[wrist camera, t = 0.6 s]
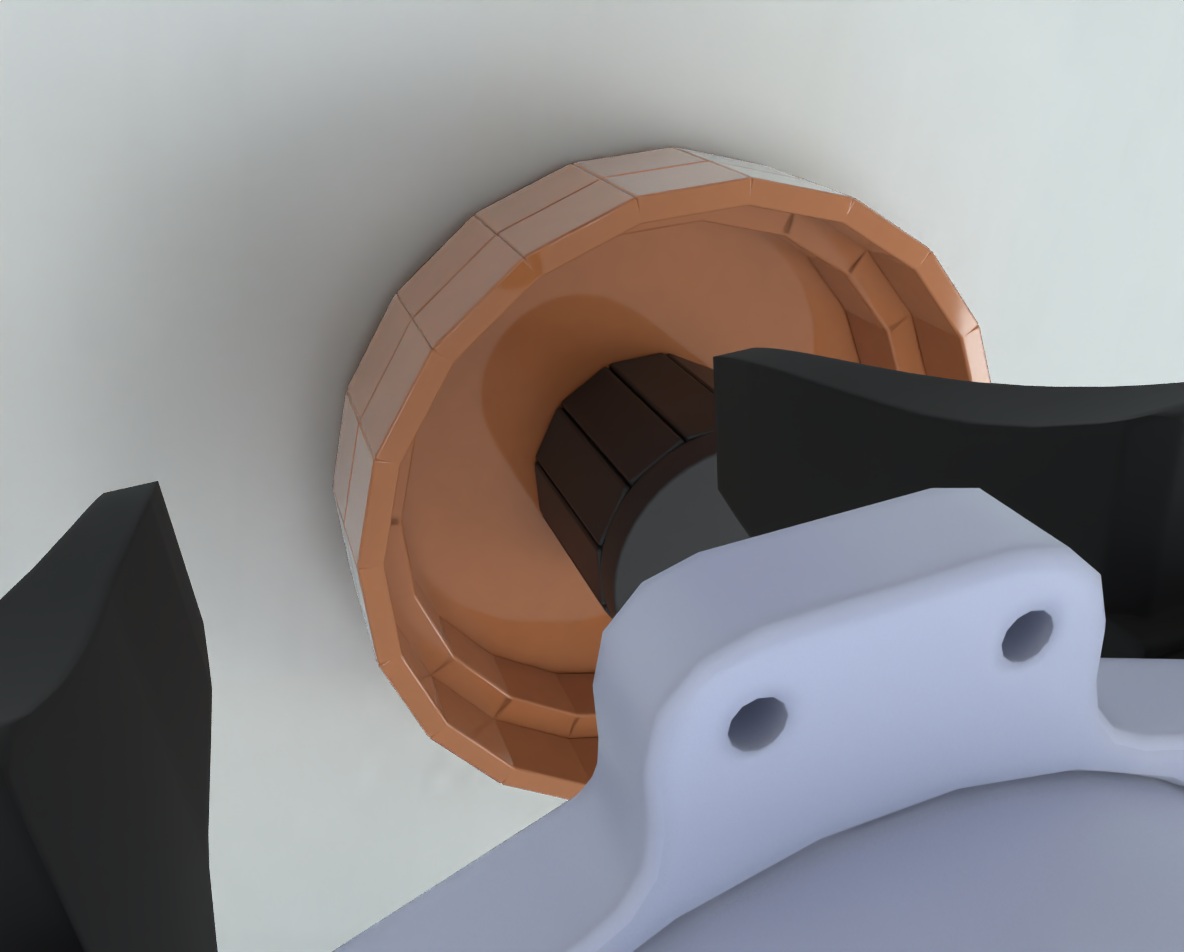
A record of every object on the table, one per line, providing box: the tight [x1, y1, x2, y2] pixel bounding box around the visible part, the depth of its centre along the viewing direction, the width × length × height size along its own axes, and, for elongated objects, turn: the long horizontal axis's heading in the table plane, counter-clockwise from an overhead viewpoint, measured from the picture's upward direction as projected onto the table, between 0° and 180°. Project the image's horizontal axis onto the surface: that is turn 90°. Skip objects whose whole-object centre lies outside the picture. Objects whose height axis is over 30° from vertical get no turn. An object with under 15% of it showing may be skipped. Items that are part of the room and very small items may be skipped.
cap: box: [535, 353, 750, 619], centre depth 23 cm, size 5×5×5 cm
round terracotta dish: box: [333, 147, 991, 800], centre depth 23 cm, size 14×14×4 cm
